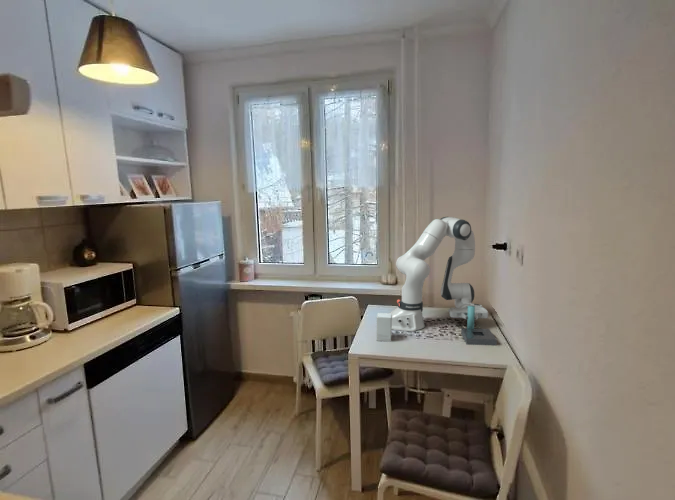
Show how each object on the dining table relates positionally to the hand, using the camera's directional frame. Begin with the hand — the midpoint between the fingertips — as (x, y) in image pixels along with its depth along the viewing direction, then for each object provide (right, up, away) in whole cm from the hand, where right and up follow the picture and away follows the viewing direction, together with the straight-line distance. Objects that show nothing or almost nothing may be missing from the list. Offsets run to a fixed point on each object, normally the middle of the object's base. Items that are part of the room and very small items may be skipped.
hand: (471, 317), depth 201 cm
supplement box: (-47, -9, -8) cm, 49 cm away
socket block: (0, -9, -11) cm, 14 cm away
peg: (0, -7, +2) cm, 7 cm away
